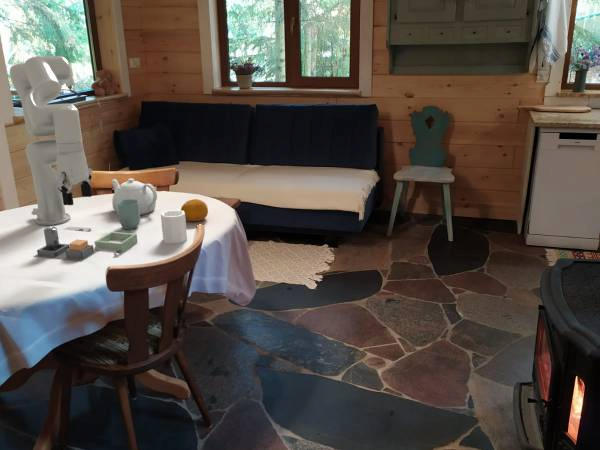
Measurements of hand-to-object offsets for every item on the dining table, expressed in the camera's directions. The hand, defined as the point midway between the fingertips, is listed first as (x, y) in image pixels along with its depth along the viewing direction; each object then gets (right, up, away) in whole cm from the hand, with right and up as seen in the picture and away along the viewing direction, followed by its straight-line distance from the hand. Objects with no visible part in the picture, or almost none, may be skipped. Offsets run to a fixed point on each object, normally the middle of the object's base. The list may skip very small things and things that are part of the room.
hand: (78, 200), depth 179 cm
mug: (+26, -13, +23) cm, 37 cm away
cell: (-11, -17, +7) cm, 21 cm away
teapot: (+3, -2, +53) cm, 53 cm away
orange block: (-1, -16, +4) cm, 16 cm away
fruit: (+30, -6, +41) cm, 51 cm away
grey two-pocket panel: (-6, -18, +6) cm, 20 cm away
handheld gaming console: (-13, -12, +25) cm, 31 cm away
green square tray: (+8, -15, +15) cm, 23 cm away
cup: (+7, -9, +33) cm, 35 cm away
